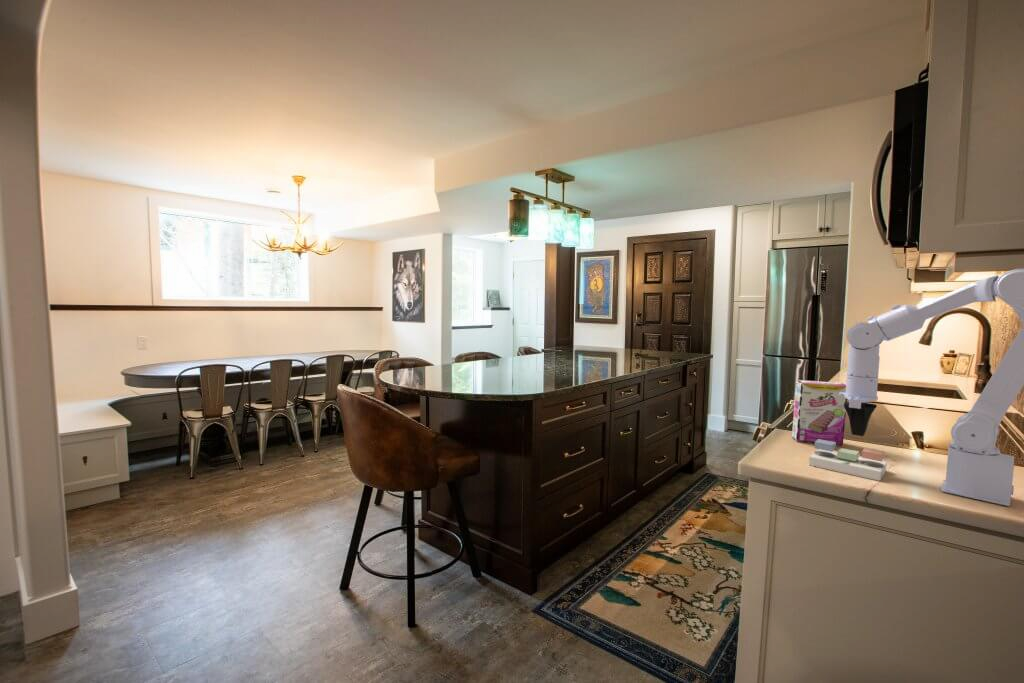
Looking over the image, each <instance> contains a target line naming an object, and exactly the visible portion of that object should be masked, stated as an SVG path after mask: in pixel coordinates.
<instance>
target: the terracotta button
mask: <svg viewBox="0 0 1024 683" xmlns="http://www.w3.org/2000/svg"><path fill="white" fill-rule="evenodd" d="M885 453H886V451H885V450H879V449H874V448H870V447H864V448H863V449H862V451H861V457H862V458H866V459H871V460H876V461H881V462H882V461H884V459H885Z"/></svg>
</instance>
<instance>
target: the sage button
mask: <svg viewBox="0 0 1024 683" xmlns="http://www.w3.org/2000/svg"><path fill="white" fill-rule="evenodd" d="M836 452H837V458H841V459H846V460H851V461H857V459H858V458H859V457H860V451H858V450H853V449H847V448H842V447H841V448H839V449H838V450H837V451H836Z"/></svg>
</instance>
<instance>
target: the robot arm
mask: <svg viewBox="0 0 1024 683" xmlns="http://www.w3.org/2000/svg"><path fill="white" fill-rule="evenodd" d="M996 297H997V298H998V299H1000V300H1001V301H1002V302H1004V303H1005V304H1007V305H1008V306H1009V307H1011V308H1012V309H1013V310H1014V313H1015V314H1016V316H1017V317H1018V319H1019V320H1020V322H1021V323H1022V327H1021V329H1020V330H1019V332H1018V333H1017V334H1016V336H1015V338H1014V339H1013V342H1012V343H1011V344H1010V346H1009V347H1008V349H1007V351H1006V352H1005V354H1004V356H1003V358H1002V359H1001V360H1000V362H999V364H998V366H997V367H996V369H995V370H994V372H993V374H992V375H991V377H990V379H989V380H988V381H987V383H986V385H985V387H984V388H983V389H982V391H981V392H980V394H979V396H978V398H977V400H976V401H975V403H974V404H973V406H972V407H971V409H970V410H969V411H967V413H964V414H962V415H961V416H960V417H959V418H957V420H956V422H955V423H954V424H953V426H952V427H951V430H950V436H951V439H952V441H949V442H948V450H947V460H946V461H947V462H946V470H945V473H946V474H945V479H943V482H942V485H941V487H940V488H941V490H940V491H941V492H943V493H946V494H952V495H955V496H961V497H965V498H969V499H974V500H979V501H983V502H988V503H993V504H997V505H1001V506H1007V507H1010V506H1011V501H1012V500H1011V499H1012V498H1011V497H1012V496H1013V495H1014V490H1015V485H1014V484H1013V478H1014V469H1015V456H1013V455H1009V454H1005V453H1001V450H1000V448H998V447H997V445H996V443H997V440H998V436H999V434H1000V424H1001V422H1002V420H1003V418H1004V417H1005V415H1006V414H1007V412H1008V410H1009V409H1010V407H1011V406H1012V404H1013V402H1014V401H1015V400H1016V398H1017V397H1018V395H1019V394H1020V392H1021V391H1022V388H1023V387H1024V268H1016V269H1012V270H1009V271H1006V272H1004V273H1003V274H1001V275H1000V276H999V275H993V276H989V277H985V278H983V279H979V280H977V281H973V282H971V283H969V284H966V285H964V286H961V287H959V288H957V289H955V290H952V291H950V292H948V293H945V294H944V295H941V296H939V297H936V298H934V299H932V300H930V301H929V300H928V301H927V302H925V303H923V304H920V305H918V306H915V305H911V304H907V303H906V304H904V305H901V304H896V305H893V306H892V307H891V310H889V311H886V312H884V313H882V314H879V315H877V316H875V317H874V316H873V315H872V316H869V317H867V322H865V321H859V322H856V323H855V324H853V325H852V326H850V327H849V329H848V330H847V332H846V340H847V342H848V344H849V346H848V354H847V363H846V364H847V365H846V367H847V368H846V380H845V385H846V393H844V392H840V393H839V396H843V397H845V398H846V399H847V403H846V402H845V403H844V408H845V410H846V415H847V417H848V419H849V425H850V432H851V434H852V436H860V437H864V436H865V434H866V431H867V428H868V425H869V422H870V419H871V417H872V414H873V413H874V411H875V410H876V408H877V407H878V405H877V404H875V403H871V402H877V401H879V399H878V398H879V397H878V387H879V386H878V384H879V383H878V382H879V370H880V345H881V344H882V343H883V341H886V342H890V341H892V340H894V339H897V338H899V337H902V336H905V335H908V334H910V333H912V332H916V331H918V330H921V329H922V328H923V326H924V324H925V322H926V321H927V320H928V319H931V318H934V317H937V316H939V315H942V314H944V313H948V312H950V311H953V310H954V311H955V310H956V309H959V308H962V307H965V306H967V305H971V304H972V303H988V302H990V303H991V302H995V303H996V301H997V300H996Z"/></svg>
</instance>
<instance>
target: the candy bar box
mask: <svg viewBox="0 0 1024 683" xmlns="http://www.w3.org/2000/svg"><path fill="white" fill-rule="evenodd" d="M794 392H795V394H794V407H793V408H794V409H793V417H792V428H791V429H792V430H791V437H792V439H793V438H794V441H795V440H796V441H795V442H797V443H806V442H811V443H810V444H815V441H817V440H818V439H821V440H826V441H832V442H836V446H840V445H844V436H845V426H846V415H847V411H846V410H845V408H844V403H845V402H846V403H847V402H848V399H846V398H845V397H843V396H839V393H840V392H844V393H846V383H845V384H844V383H842V382H836V381H835V382H834V381H833V382H832V381H817V380H806V379H805V380H803V379H796V382H795V391H794Z"/></svg>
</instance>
